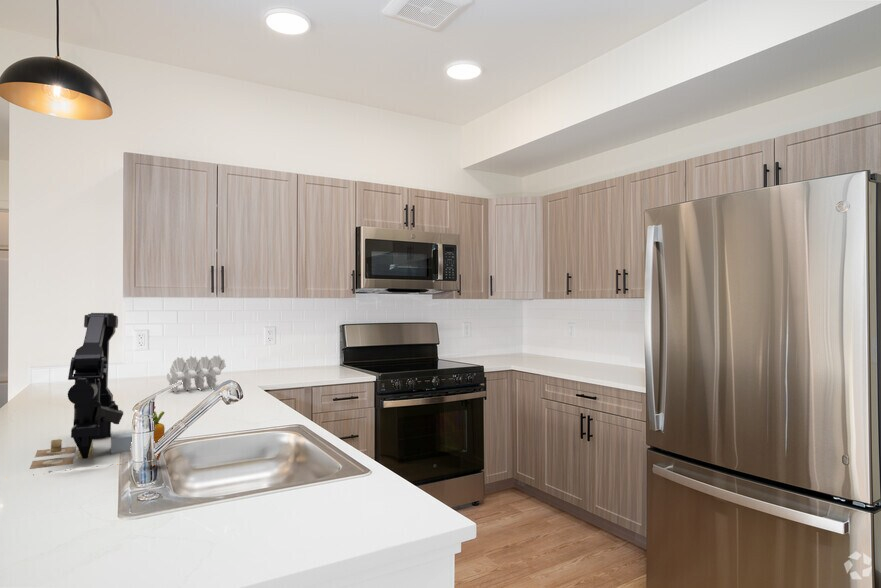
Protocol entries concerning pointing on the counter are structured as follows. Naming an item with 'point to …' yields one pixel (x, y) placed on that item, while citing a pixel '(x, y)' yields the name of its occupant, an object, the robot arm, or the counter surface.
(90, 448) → the pin
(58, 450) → the board
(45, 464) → the build board
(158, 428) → the carrot
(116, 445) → the grey block
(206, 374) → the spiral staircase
